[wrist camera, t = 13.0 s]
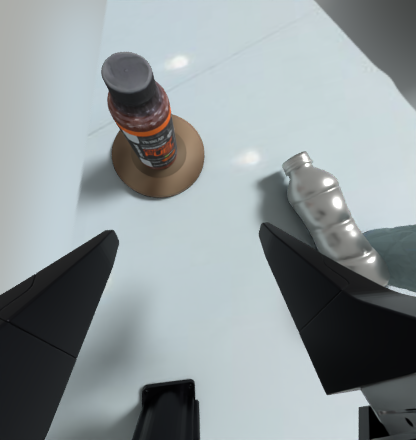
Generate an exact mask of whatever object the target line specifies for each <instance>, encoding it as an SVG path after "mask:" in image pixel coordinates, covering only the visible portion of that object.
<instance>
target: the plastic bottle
mask: <svg viewBox="0 0 416 440" xmlns="http://www.w3.org/2000/svg"><path fill="white" fill-rule="evenodd" d="M312 163H313V160H312V159H310V157H309V155H308V153H307V152H306V151H304V152H301V153H299V154H297V155H295V156H293V157H291V158H290V159H288V160H287V161H286V162H284V163H283V164H282V168H283V170H284V172H285V175H286V177H287V176H289V178H290V181H289V185H288V192H287V196H288V201H289V202H290V204H291V205H292V206H293V208H294V210H295V211H296V212H297V214H298V215H299V216H300V218H301V219H302V221H303V222H304V224H305V226H306V227H307V229H308V230H309V231H310V234H311V236H312V237H313V239H314V242H315V244H316V247H317V249H318V251H319V252H320V253H322V254H324V255H325V256H327V257H329V258H330V259H332V260H334V261H336V262H338V263H339V264H341V265H343V266H345V267H347V268H349V269H351V270H352V271H354V272H356V273H358V274H360V275H362V276H364V277H366V278H368V279H370V280H372V281H374V282H376V283H378V284H380V285H382V286H384V287H385V286H386V285H387V284H388V282H389V279H390V273H389V270H388V267H387V264H386V262H385V261H384V260H383V258H382V257H381V256H380V255H379V253H378V252H377V251H376V250H375V249H374V248H373V247H371V245H370V243H369V242H368V241H367V239H366V238H365V236H364V235H363V233H362V232H361V231H360V229H359V228H358V226H357V225H356V223H355V221H354V219H353V218H352V216H351V213H350V210H349V208H348V206H347V204H346V202H345V199H344V196H343V193H342V190H341V188H340V187H339V182H338V180H337V178H336V177H335V176H333V175H332V174H331V173H329V172H327V171H325V170H322V169H319V168H316V167H314V166H313V165H312Z"/></svg>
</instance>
